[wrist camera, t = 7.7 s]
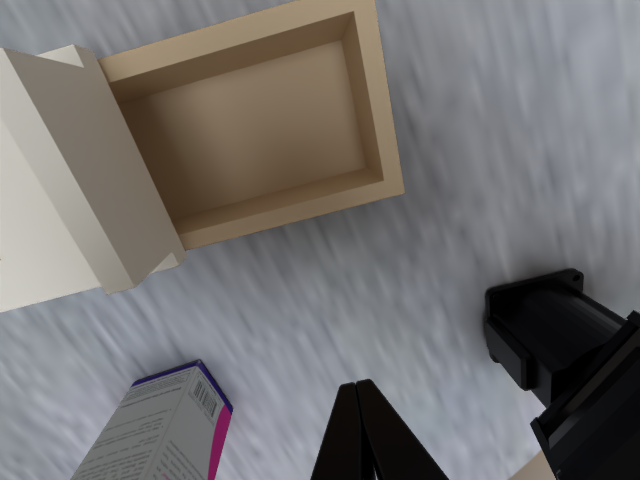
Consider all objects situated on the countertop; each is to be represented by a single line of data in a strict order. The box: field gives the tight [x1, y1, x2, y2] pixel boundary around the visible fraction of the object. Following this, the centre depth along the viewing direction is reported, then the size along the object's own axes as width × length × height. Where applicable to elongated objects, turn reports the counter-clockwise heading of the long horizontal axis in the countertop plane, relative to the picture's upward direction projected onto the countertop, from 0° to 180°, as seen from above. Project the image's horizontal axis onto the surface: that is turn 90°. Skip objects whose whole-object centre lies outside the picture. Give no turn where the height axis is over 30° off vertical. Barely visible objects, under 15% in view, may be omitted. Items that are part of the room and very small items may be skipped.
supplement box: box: [70, 360, 233, 480], centre depth 19 cm, size 6×6×12 cm
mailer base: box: [97, 0, 405, 251], centre depth 15 cm, size 16×8×5 cm, turn 104°
